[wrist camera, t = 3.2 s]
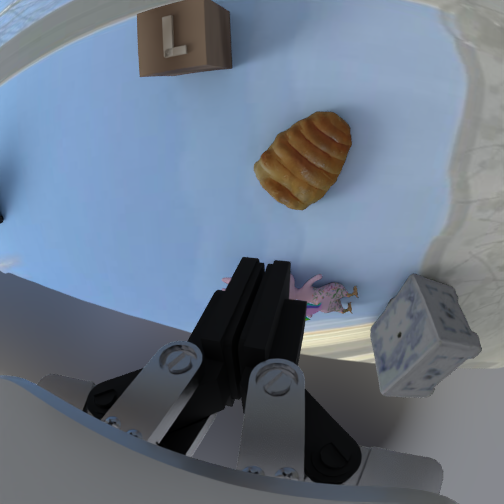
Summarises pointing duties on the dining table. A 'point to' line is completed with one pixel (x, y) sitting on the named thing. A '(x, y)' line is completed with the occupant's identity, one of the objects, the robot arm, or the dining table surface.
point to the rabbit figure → (318, 296)
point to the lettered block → (184, 39)
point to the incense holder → (421, 338)
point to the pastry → (305, 160)
